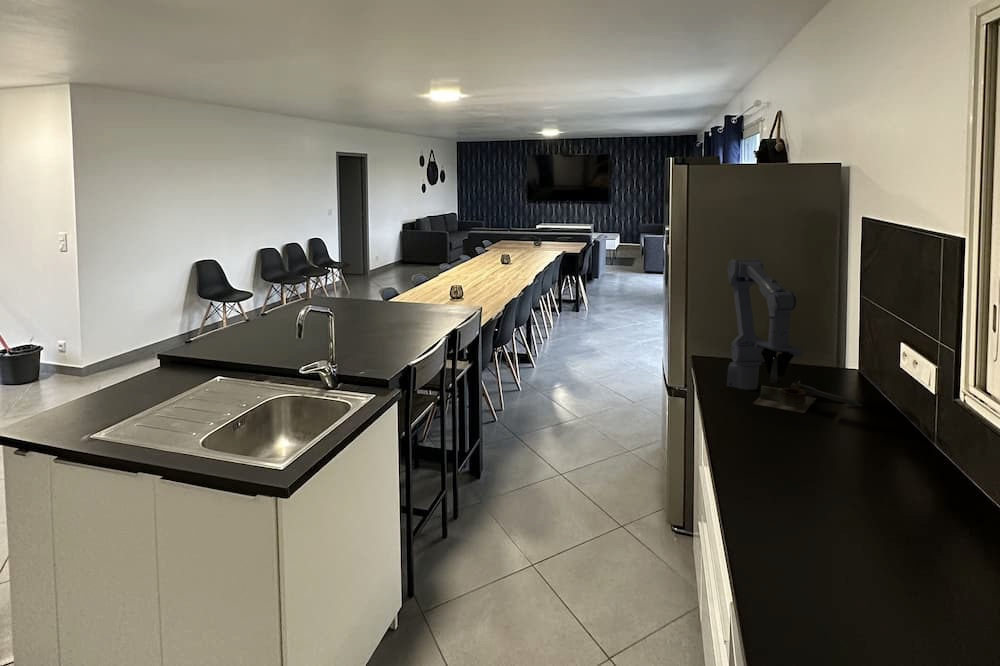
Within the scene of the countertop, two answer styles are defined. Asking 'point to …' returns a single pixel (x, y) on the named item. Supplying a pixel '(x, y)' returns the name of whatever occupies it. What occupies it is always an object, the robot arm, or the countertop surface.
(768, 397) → the hinge base
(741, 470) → the countertop surface
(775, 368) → the steel pin
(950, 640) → the countertop surface
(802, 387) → the caliper
